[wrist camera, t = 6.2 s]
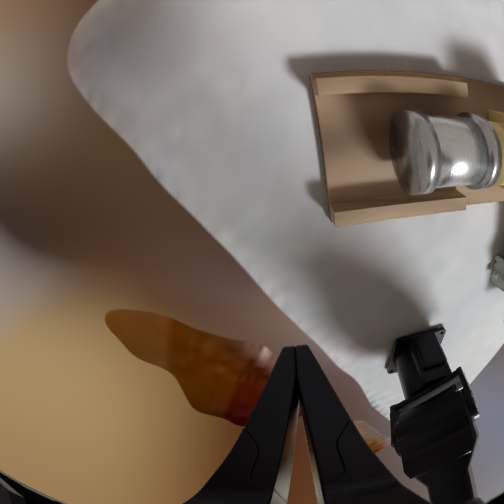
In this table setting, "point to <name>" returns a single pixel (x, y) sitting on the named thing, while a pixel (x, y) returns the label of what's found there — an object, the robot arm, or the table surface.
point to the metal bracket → (498, 273)
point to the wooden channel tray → (377, 140)
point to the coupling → (443, 151)
